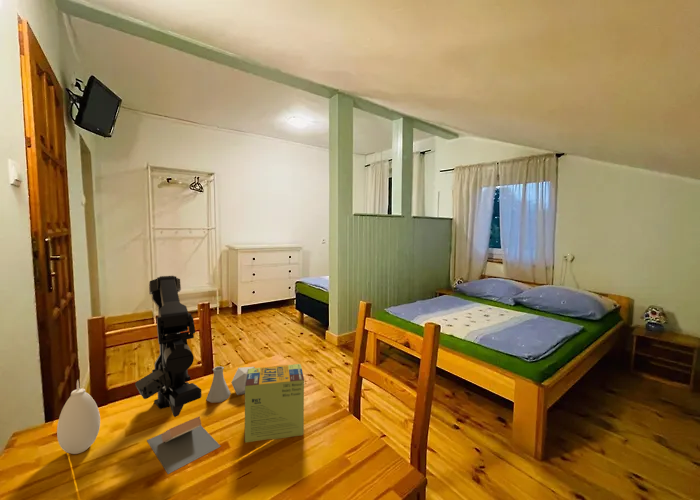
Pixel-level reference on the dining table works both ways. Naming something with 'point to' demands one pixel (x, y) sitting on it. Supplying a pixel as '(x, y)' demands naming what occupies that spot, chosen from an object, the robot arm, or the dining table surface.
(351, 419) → the dining table surface
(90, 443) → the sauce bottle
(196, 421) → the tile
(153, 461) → the dining table surface
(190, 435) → the mat
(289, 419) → the protein box
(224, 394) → the flask
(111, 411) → the dining table surface
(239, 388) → the pale grey faceted chunk
